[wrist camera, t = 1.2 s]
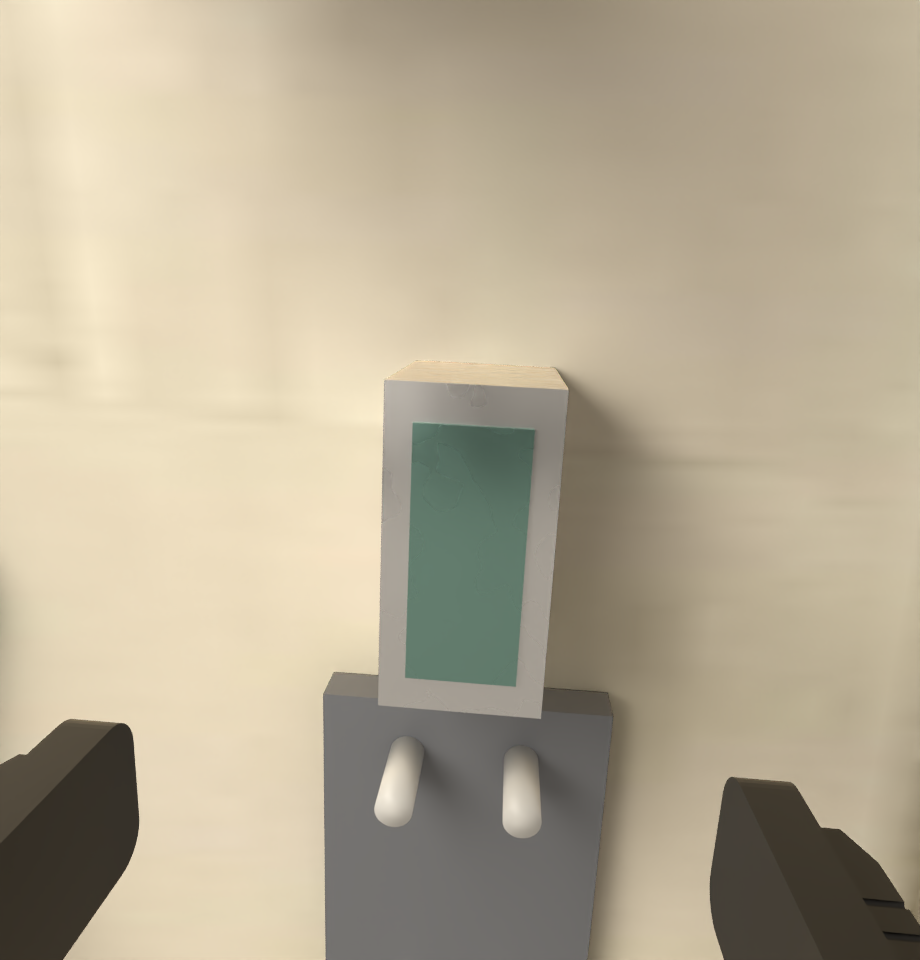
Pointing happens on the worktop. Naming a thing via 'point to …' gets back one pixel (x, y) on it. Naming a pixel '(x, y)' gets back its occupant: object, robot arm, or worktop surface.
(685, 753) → the worktop surface
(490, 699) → the block
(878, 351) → the worktop surface
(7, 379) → the worktop surface
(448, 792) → the grey wall plate
